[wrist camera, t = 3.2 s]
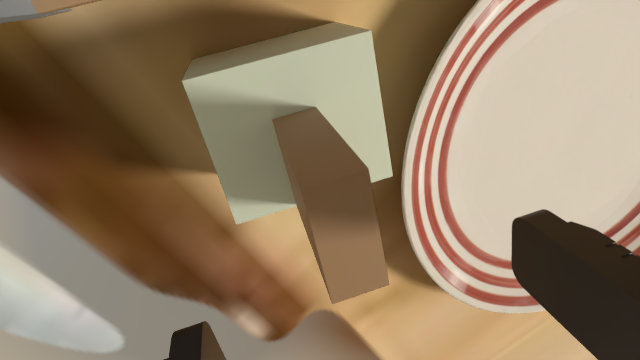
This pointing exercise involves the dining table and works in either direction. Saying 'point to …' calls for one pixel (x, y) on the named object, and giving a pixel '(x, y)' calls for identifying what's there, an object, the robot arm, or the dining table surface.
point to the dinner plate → (523, 139)
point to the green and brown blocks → (302, 142)
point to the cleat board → (35, 8)
